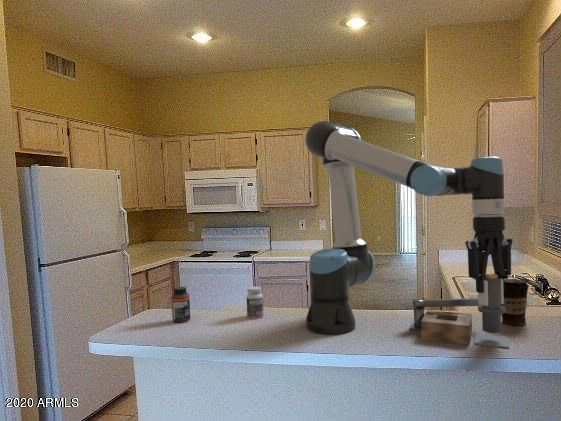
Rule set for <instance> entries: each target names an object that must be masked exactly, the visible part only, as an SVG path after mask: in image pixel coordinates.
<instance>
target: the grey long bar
mask: <svg viewBox="0 0 561 421" xmlns="http://www.w3.org/2000/svg"><path fill="white" fill-rule="evenodd" d="M411 303H412V305H411V306H412V308H413V309H414V308H424V309H425V308H442V307H443V308H444V307H445V308H446V307H447V308H448V307H449V308H450V307H458V308H459V307H478V305H481V304H478V297H477V298H471V297H470V298H438V299H437V298H433V299H429V298H428V299H423V298H413V299H412V302H411Z"/></svg>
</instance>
